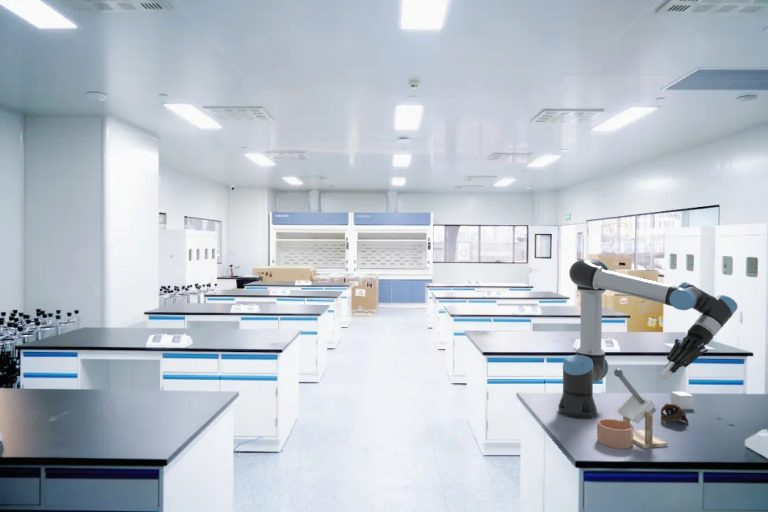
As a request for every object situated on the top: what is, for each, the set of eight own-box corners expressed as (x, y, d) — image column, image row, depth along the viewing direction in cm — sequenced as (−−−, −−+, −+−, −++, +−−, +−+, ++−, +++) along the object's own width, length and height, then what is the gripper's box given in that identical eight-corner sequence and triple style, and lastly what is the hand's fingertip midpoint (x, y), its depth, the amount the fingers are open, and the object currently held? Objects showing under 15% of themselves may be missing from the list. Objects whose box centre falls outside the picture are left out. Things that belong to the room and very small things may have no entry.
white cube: (679, 409, 207) (679, 395, 207) (670, 405, 213) (670, 391, 213) (693, 409, 207) (693, 395, 207) (683, 404, 213) (684, 391, 213)
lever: (641, 403, 177) (610, 364, 175) (660, 411, 168) (627, 370, 166) (625, 420, 176) (593, 381, 173) (643, 429, 167) (609, 388, 164)
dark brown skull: (695, 428, 186) (688, 411, 184) (671, 437, 187) (665, 421, 185) (678, 410, 198) (671, 394, 196) (655, 419, 199) (649, 403, 197)
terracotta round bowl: (593, 443, 169) (594, 425, 169) (602, 434, 178) (602, 416, 178) (628, 451, 162) (628, 432, 162) (635, 441, 171) (635, 423, 171)
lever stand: (641, 433, 179) (642, 401, 179) (667, 446, 167) (667, 412, 167) (619, 434, 177) (619, 402, 177) (643, 448, 165) (643, 413, 165)
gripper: (725, 340, 171) (684, 389, 168) (695, 334, 183) (656, 379, 181) (712, 326, 170) (671, 374, 167) (683, 320, 182) (644, 366, 179)
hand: (663, 377), depth 174 cm, fingers closed
